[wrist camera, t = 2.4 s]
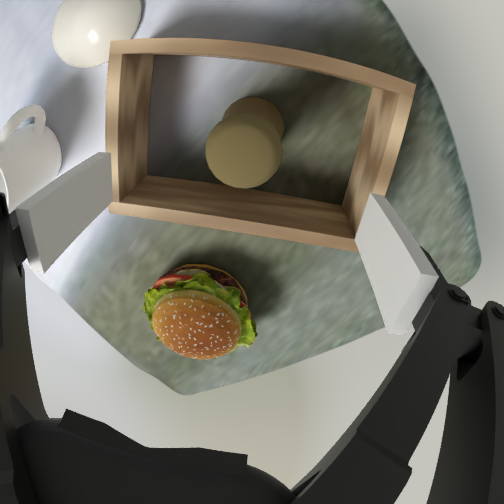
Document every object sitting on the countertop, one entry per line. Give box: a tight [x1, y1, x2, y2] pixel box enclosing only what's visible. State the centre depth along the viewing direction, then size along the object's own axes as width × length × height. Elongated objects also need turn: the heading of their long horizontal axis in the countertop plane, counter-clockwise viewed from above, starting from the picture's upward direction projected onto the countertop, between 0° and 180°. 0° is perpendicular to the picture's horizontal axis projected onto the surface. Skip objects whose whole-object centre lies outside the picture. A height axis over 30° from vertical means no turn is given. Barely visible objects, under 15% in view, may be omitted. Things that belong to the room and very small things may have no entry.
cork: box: [206, 97, 284, 189], centre depth 23 cm, size 6×6×11 cm
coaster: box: [52, 0, 142, 68], centre depth 21 cm, size 11×11×1 cm
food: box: [143, 264, 257, 360], centre depth 37 cm, size 14×14×8 cm
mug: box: [0, 105, 62, 214], centre depth 25 cm, size 12×8×10 cm
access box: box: [105, 38, 416, 252], centre depth 25 cm, size 15×23×7 cm, turn 82°
